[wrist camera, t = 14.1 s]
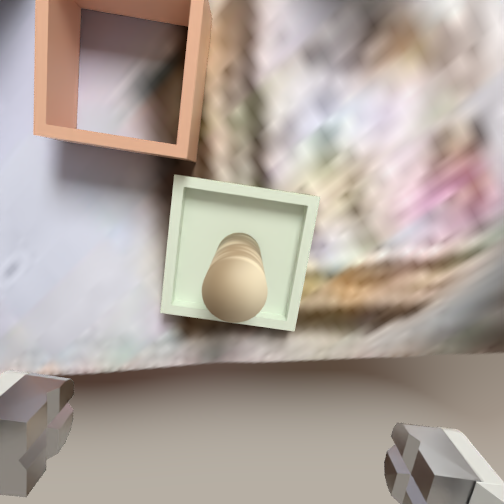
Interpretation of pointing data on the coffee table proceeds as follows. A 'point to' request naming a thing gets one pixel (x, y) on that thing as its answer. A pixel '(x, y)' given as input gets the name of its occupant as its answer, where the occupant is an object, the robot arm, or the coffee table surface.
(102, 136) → the frame
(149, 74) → the coffee table surface
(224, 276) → the beech peg
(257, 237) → the sage tray
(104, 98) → the coffee table surface
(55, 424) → the robot arm
